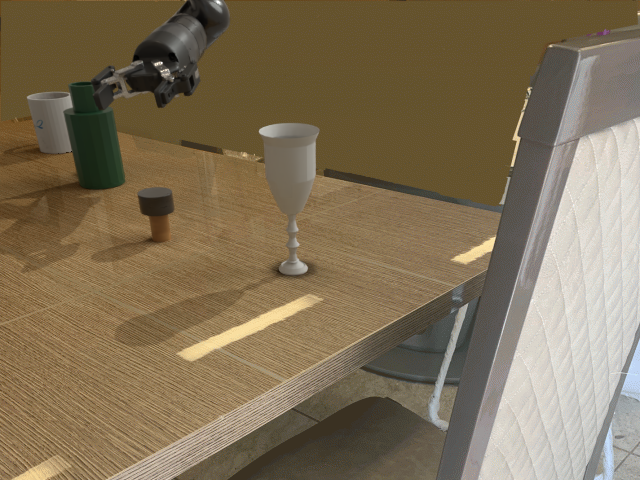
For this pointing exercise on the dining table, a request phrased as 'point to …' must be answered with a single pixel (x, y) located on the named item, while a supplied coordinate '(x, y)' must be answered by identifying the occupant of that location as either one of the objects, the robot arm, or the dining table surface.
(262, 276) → the dining table surface
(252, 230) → the dining table surface
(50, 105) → the mug
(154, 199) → the stopper
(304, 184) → the chalice
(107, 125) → the bottle
